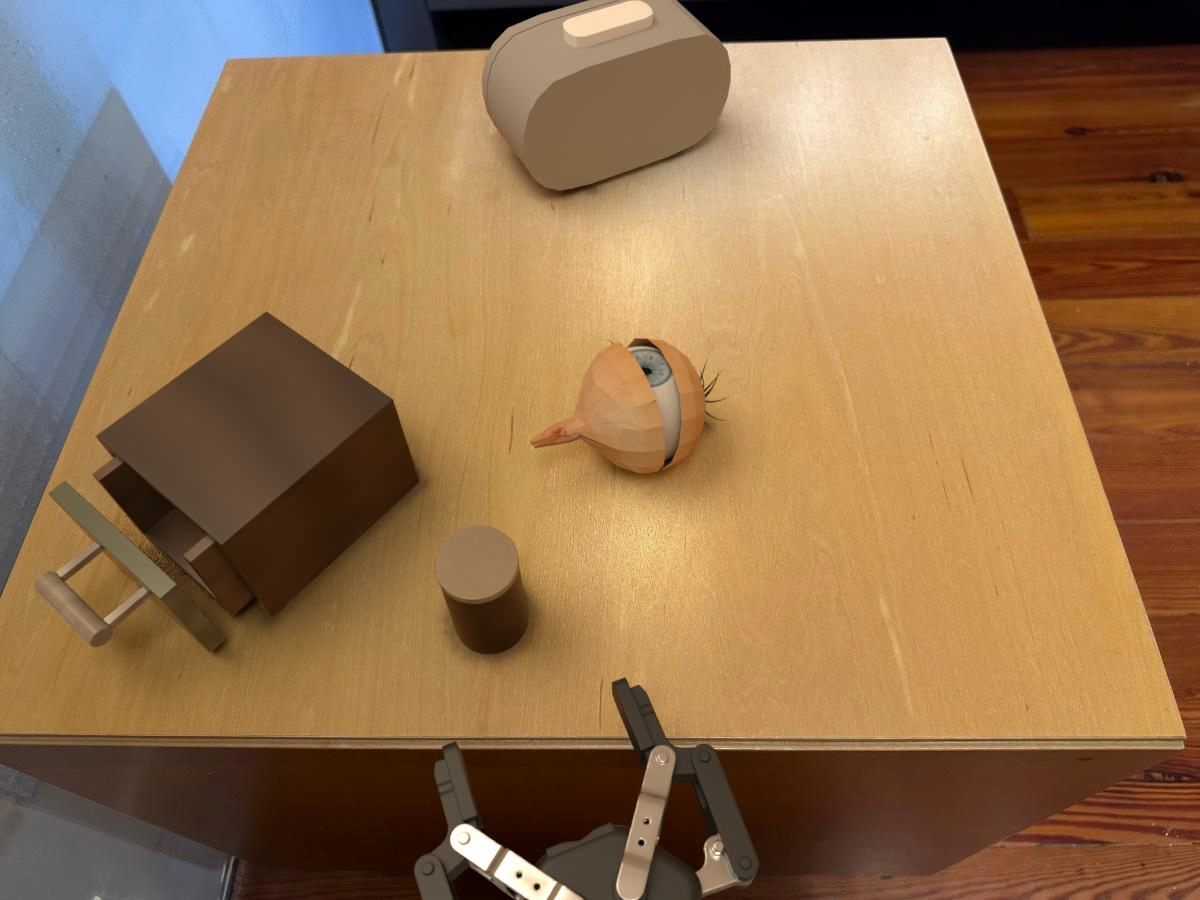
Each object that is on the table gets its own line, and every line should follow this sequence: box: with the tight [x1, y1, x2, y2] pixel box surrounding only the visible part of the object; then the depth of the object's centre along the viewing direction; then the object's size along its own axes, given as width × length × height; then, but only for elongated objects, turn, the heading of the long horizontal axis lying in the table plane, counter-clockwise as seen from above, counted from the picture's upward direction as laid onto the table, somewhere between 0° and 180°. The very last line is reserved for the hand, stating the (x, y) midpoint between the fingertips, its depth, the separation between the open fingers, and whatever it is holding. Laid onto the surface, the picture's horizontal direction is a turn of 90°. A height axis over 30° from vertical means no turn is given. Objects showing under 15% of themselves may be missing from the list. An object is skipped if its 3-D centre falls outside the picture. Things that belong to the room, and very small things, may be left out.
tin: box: [434, 525, 529, 655], centre depth 57 cm, size 5×5×8 cm
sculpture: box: [529, 337, 729, 475], centre depth 64 cm, size 9×9×15 cm
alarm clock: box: [481, 0, 732, 192], centre depth 83 cm, size 21×10×13 cm, turn 117°
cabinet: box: [95, 311, 420, 617], centre depth 62 cm, size 14×13×10 cm
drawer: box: [33, 457, 255, 654], centre depth 59 cm, size 17×11×8 cm
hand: (535, 716), depth 44 cm, fingers open, 8 cm apart
